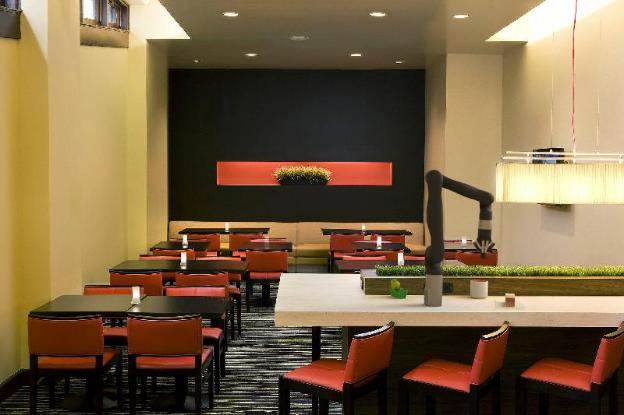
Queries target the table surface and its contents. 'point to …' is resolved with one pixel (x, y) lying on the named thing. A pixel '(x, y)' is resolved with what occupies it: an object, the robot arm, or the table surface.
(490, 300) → the table surface
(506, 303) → the block
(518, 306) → the mat
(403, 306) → the table surface
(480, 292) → the cup
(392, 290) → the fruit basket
